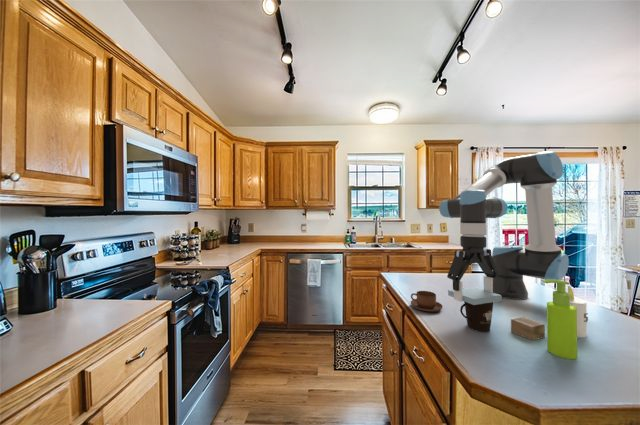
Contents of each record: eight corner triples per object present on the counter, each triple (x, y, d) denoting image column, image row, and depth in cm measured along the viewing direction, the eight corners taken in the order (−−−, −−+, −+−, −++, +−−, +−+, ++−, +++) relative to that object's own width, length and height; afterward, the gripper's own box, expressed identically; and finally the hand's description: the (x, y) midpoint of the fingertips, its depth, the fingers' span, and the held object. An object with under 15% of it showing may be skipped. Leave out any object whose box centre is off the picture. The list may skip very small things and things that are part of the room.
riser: (523, 328, 82) (523, 316, 82) (544, 337, 76) (544, 324, 76) (511, 331, 80) (511, 319, 80) (531, 340, 75) (531, 327, 75)
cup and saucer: (411, 312, 97) (411, 296, 97) (410, 302, 108) (410, 288, 108) (445, 316, 93) (444, 299, 93) (440, 305, 104) (439, 290, 104)
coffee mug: (484, 322, 87) (484, 294, 87) (500, 334, 78) (499, 302, 78) (450, 321, 88) (450, 293, 88) (461, 332, 79) (461, 301, 80)
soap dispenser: (538, 345, 72) (537, 276, 72) (569, 349, 69) (568, 278, 69) (549, 355, 66) (548, 281, 66) (582, 361, 64) (581, 284, 64)
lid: (473, 291, 90) (473, 286, 90) (501, 300, 80) (501, 295, 80) (448, 295, 86) (448, 290, 86) (473, 305, 77) (473, 299, 77)
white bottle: (581, 339, 75) (580, 290, 75) (554, 330, 81) (554, 284, 81) (592, 335, 77) (591, 288, 78) (565, 326, 83) (564, 282, 84)
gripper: (489, 233, 91) (489, 291, 91) (435, 235, 83) (435, 298, 83) (510, 235, 84) (511, 297, 84) (453, 237, 76) (454, 306, 76)
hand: (473, 298), depth 83 cm, fingers open, 13 cm apart
